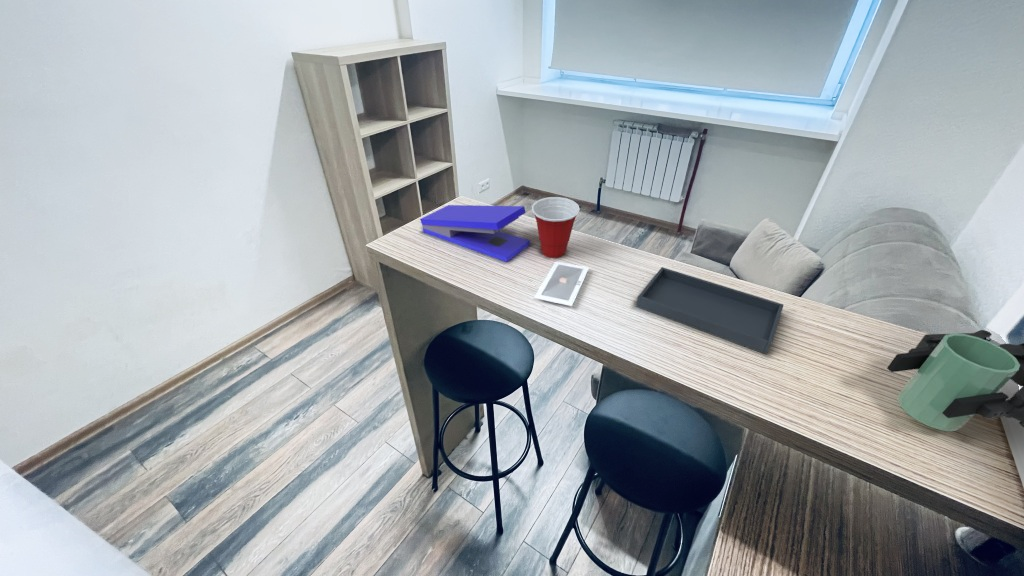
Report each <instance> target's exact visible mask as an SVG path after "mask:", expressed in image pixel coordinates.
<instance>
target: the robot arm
mask: <svg viewBox="0 0 1024 576" xmlns="http://www.w3.org/2000/svg"><path fill="white" fill-rule="evenodd" d="M948 334H949V333H929V334H928V333H927V334H924V336H923V337H922V338H921V339H920V341H918V344H917V345H916V346H915V347H914V348H911V349H909V350H908V351H907V352H903V353H897V354H896V355H895V356H894V357H893V359H892V360H891V362H890V363H889V364H888V366H887V367H886V369H887V370H888V371H889V372H890V373H897V372H905V371H912V370H918V369H919V368H920V366H921V365H922V364H923V363H924V361H925V360H926V359H927V357H928V356H929V355H930V354H931V352H932V351H933V350H934V349H935V347H936V346H937V345H938V343H939V342H940V341H941V340H942V338H943V337H944V336H945V335H948ZM958 334H966V335H970V336H974V337H978V338H981V339H984V340H986V341H989V342H992V343H994V344H996V345H998V346H999V347H1001V348H1003V349H1005V350H1007V351H1008V352H1009V353H1010V354H1012V355H1013V356H1014V357H1015V358H1016V359H1017V361H1018V362H1019V364H1020V368H1019V370H1018V371H1017V372H1016V373H1015V374H1014V375H1013V376H1012V377H1011V378H1010V379H1009V380H1010V381H1012V382H1013V383H1015V384H1016V385H1018V386H1020V388H1019V390H1017V391H1016V392H1015V393H1014V394H1013V395H1012V396H1011V397H1010V398H1009V395H1008V394H1006V393H1005V392H1003V391H1000V392H999V391H998V392H997V393H992V394H984V395H977V396H970V397H963V398H956V399H954V401H953V402H952V403H951V404H950V405H949V406H948V407H947V408H946V409H945V410H944V412H943V413H942V414H944V415H945V416H946V417H947V418H953V417H960V416H967V415H973V414H975V415H979V416H980V417H982V418H983V419H989V420H990V419H996V418H1003V417H1005V418H1008V419H1010V418H1012V419H1013V418H1014V419H1015V420H1017V421H1019V422H1018V423H1019V425H1020V426H1021V427H1023V428H1024V342H1023V343H1020V344H1012V343H1000V342H998V341H995V340H994V339H992V338H991V336H992V332H990V331H988V330H985V329H980V330H978V331H974V332H962V333H958Z"/></svg>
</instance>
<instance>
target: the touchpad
mask: <svg viewBox="0 0 1024 576" xmlns="http://www.w3.org/2000/svg"><path fill="white" fill-rule="evenodd" d="M589 270H590V267H588V266H583V265H578V264H577V265H576V264H573V263H567V262H562V261H558V260H557V261H554V263H553V265H552V266H551V268H550V270H549V271H548V273H547V274H546V276H545V278H544V280H542V283H541V285H540V286H539V288H538V290H537V291H536V293H535V295H534V296H533V298H534V299H537V300H541V301H546V302H551V303H556V304H560V305H565V306H568V307H573V304H574V302H575V300H576V297H577V296H578V294H579V292H580V290H581V287H582V285H583V282H584V280H585V278H586V276H587V273H588V272H589Z"/></svg>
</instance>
